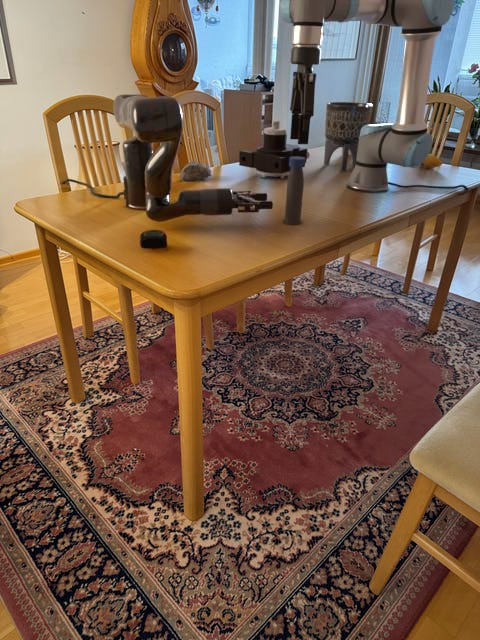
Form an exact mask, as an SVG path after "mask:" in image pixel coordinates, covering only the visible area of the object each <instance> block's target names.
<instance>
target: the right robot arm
mask: <svg viewBox="0 0 480 640" xmlns="http://www.w3.org/2000/svg"><path fill="white" fill-rule="evenodd" d="M454 3H455V0H281V1H280V4H279V6H280V7H279V12H280V13H279V14H280V16H281V18H282V20H283V21H284V22H285V23H287V24H292V32H291V33H292V34H291V45H292V46H293V47H292V48H291V49H290V50H291V51H290V64H292V65H297V68H296V71H293V73H292V88H291V97H290V106H289V110H290V112H291V121H290V122H291V123H290V137H289V139H290V140H297V145H309V139H310V127H311V125H310V124H311V119H312V117H314V114H315V113H314V112H315V92H316V91H315V90H316V80H317V73H314V72H313V65H315V66H316V65H320V63H321V55H322V49H321V47H320V46H321V45H322V41H323V37H324V36H325V32H324V31H323V30H324V24H325V23H336V22H337V23H340V24H341V23H348V22H364V23H365V24H367V25H380V26H385V27H394V28H401V37H403V39H404V40H405V45H404V53H403V62H402V71H401V72H402V73H401V82H400V89H399V99H398V100H399V101H398V108H397V109H398V110H397V118H396V122H395V123H377V124H376V123H375V124H369V125H365V126H363V127H362V128H361V132H360V136H359V143H358V151H357V158H356V165H355V166H354V167H353V171H351V174H350V176H349V179H348V182H347V187H348V188H349V189H351V190H354V191H358V192H363V193H364V192H365V193H382V192H386V191H388V189H389V185H390V186H393V187H397V188H401V189H407V188H408V189H410V188H425V189H437V190H438V189H439V190H440V189H441V190H454V189H459V188H463V189H464V190H468V186H466V185H464V184H459V185H454V186H442V185H441V186H439V185H438V186H437V185H426V184H408V185H402V184H398V183H396V182H395V183H394V182H390V181H389V178H388V173H387V172H388V171H387V166H388V164H390V165H394V166H400V167H403V168H411V169H412V168H413V169H414V168H418V167H420V166H421V164H422V163H423V162H424V161H425V159H426V158H427V157H428V155H429V154H430V152H431V150H432V147H433V136H432V134H431V133H428V132H427V131H428V124H427V123H426V122H425V113H426V105H427V99H428V91H429V84H430V77H431V69H432V64H433V63H432V62H433V56H434V48H435V43H436V42H435V40H436V38H437V37H438V36H439V35H440V34H441V33H442V30H443V29H442V28H443V26H444V25H446V24H447V23H448V22H449V21H450V19H451V16H452V14H453V10H454V5H455V4H454Z"/></svg>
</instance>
